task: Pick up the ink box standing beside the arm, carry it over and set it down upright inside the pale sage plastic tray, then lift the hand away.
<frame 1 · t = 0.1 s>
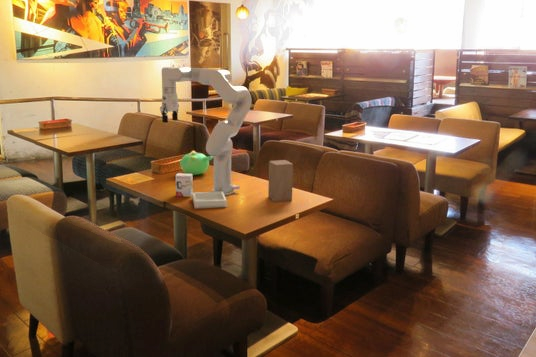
hand: (170, 121, 281), 37 cm above the table, tool pointing down, fingers open, 9 cm apart
wooden block: (280, 199, 269), on the table
tray: (209, 202, 259), on the table
ink box: (184, 196, 271), on the table
green teapot: (195, 174, 316), on the table
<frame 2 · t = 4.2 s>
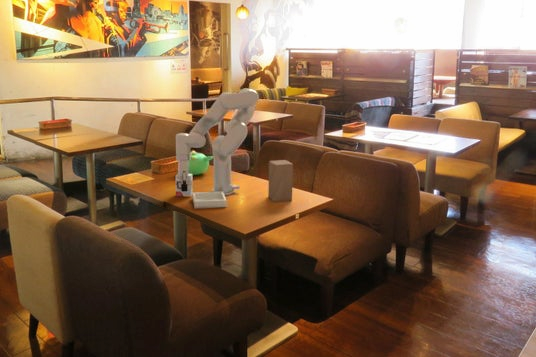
hand: (184, 189, 270), 4 cm above the table, tool pointing down, fingers closed on ink box, 5 cm apart
ink box: (184, 195, 271), on the table, touching gripper
everything else where it was.
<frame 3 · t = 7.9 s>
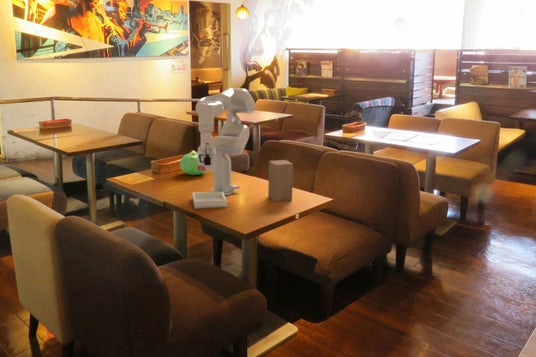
hand: (206, 163, 254), 21 cm above the table, tool pointing down, fingers closed on ink box, 5 cm apart
ink box: (206, 170, 255), point 17 cm above the table, touching gripper
everything else where it was.
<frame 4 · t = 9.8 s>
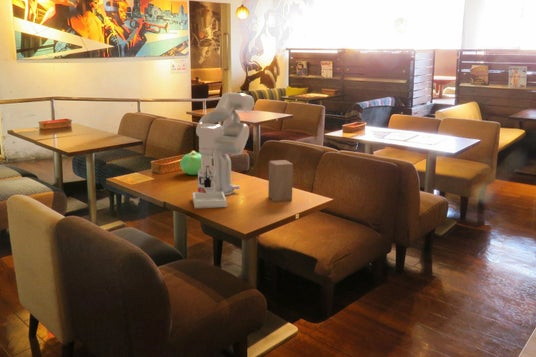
hand: (207, 185, 257), 10 cm above the table, tool pointing down, fingers closed on ink box, 5 cm apart
ink box: (206, 192, 258), point 6 cm above the table, touching gripper
everything else where it was.
when the fingers open (6 cm above the table, at t = 11.5 s): ink box drops 1 cm, resting on tray.
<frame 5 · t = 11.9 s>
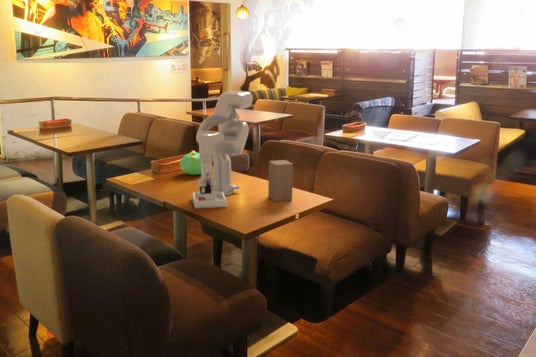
hand: (207, 190, 258), 7 cm above the table, tool pointing down, fingers open, 9 cm apart
ink box: (207, 201, 260), point 1 cm above the table, touching tray
everything else where it was.
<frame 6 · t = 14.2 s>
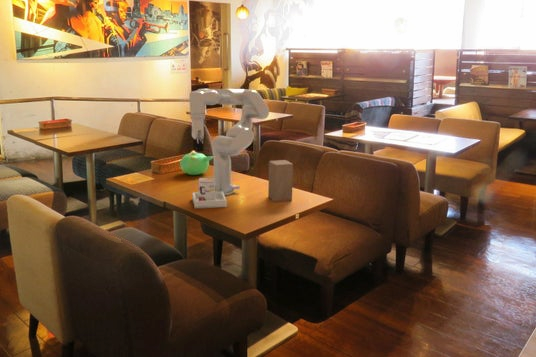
hand: (198, 149, 259), 27 cm above the table, tool pointing down, fingers open, 9 cm apart
nothing on the table moved.
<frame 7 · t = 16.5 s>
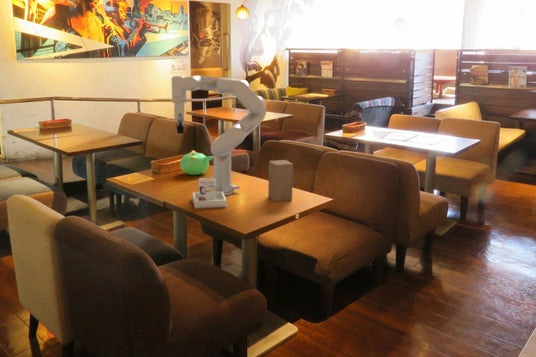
hand: (180, 131, 271), 33 cm above the table, tool pointing down, fingers open, 9 cm apart
nothing on the table moved.
at the end: ink box inside the target area on the tray (1.2 cm from its centre), point 0.6 cm above the tray's base; ink box tilted 0°; the gripper is holding nothing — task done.
